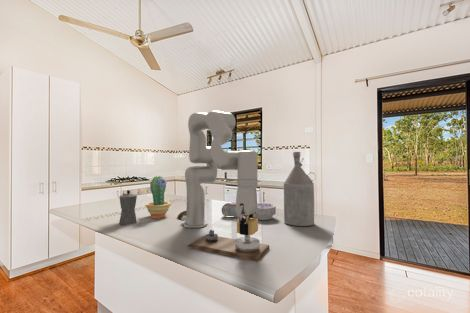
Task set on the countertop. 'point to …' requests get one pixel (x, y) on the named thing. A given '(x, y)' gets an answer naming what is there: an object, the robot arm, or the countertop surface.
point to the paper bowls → (265, 211)
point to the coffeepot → (128, 209)
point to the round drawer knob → (211, 236)
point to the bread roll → (182, 214)
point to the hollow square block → (249, 226)
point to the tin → (229, 210)
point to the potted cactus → (158, 198)
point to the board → (227, 248)
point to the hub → (247, 244)
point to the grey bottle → (298, 196)
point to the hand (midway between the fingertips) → (247, 231)
